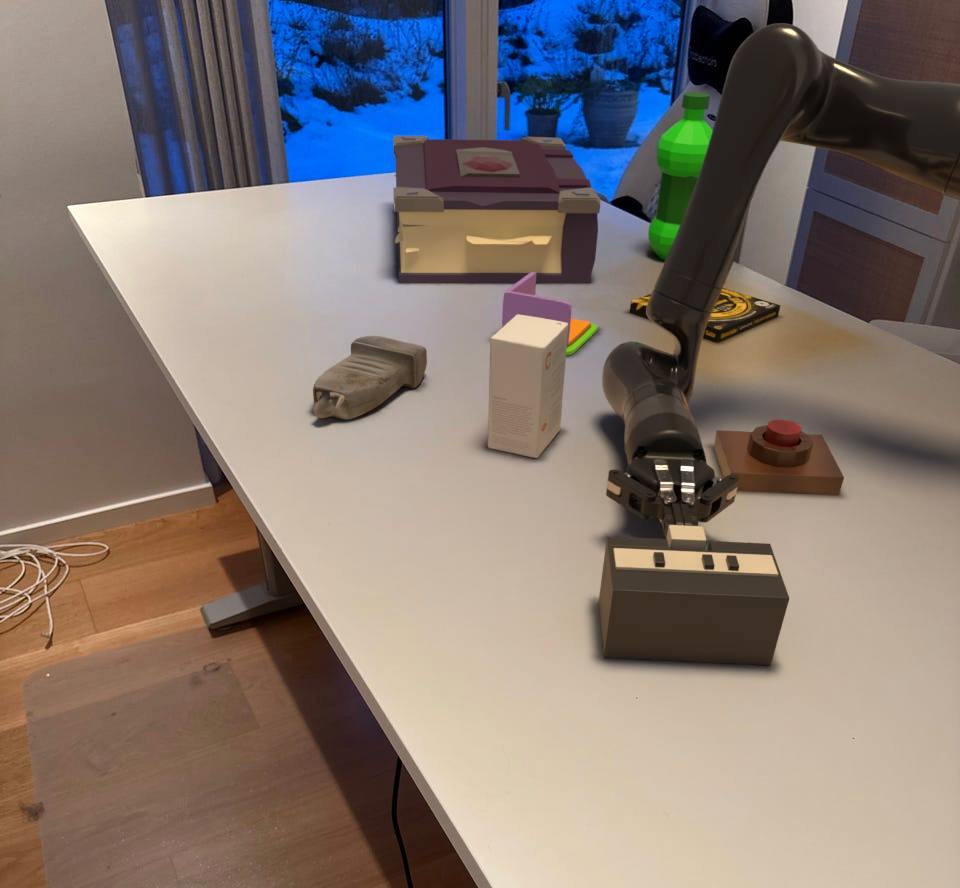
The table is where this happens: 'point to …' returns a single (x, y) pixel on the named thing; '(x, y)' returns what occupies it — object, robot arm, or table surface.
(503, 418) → the small box
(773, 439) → the bell button
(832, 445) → the table surface
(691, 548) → the white key
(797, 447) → the brown base plate
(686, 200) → the plastic bottle
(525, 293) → the toy room diorama
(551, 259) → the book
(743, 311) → the guitar strings
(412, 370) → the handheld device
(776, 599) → the toy piano
